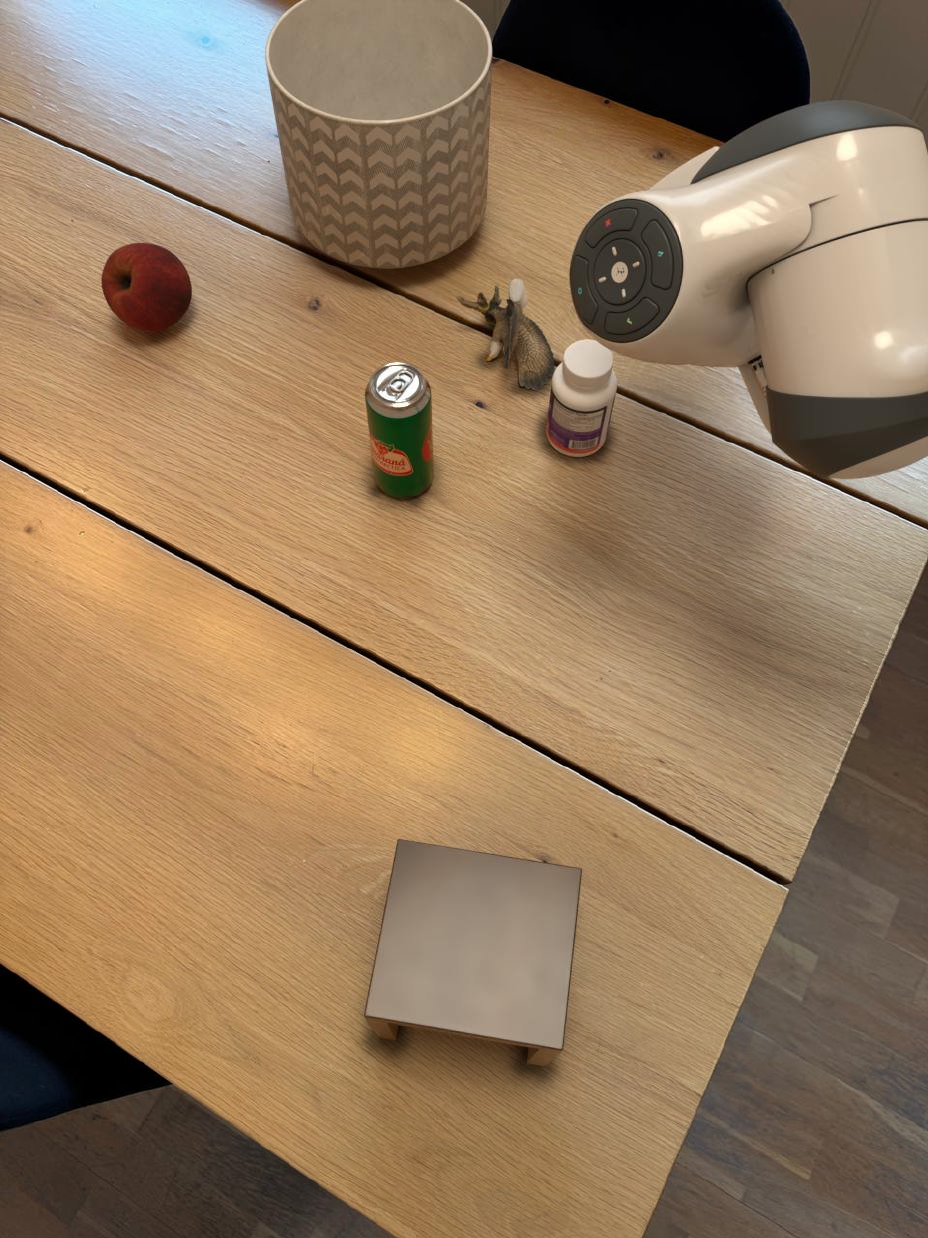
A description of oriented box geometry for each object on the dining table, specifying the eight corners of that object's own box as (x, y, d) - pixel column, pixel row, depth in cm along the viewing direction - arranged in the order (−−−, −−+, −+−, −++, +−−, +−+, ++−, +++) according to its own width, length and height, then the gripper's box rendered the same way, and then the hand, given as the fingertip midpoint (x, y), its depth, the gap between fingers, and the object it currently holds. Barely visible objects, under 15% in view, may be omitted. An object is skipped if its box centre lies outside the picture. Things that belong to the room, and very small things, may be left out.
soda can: (362, 481, 87) (349, 388, 76) (399, 443, 88) (392, 347, 78) (408, 511, 85) (402, 421, 75) (445, 472, 87) (444, 379, 76)
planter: (342, 138, 107) (323, -41, 90) (513, 185, 104) (524, 9, 87) (261, 260, 98) (224, 87, 82) (443, 315, 95) (441, 146, 79)
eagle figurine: (438, 337, 93) (492, 389, 88) (469, 263, 89) (526, 314, 84) (500, 346, 98) (553, 396, 93) (531, 276, 94) (589, 325, 89)
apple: (100, 314, 95) (72, 247, 88) (171, 275, 97) (149, 207, 90) (144, 361, 92) (118, 296, 85) (215, 319, 95) (196, 253, 88)
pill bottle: (566, 399, 91) (578, 321, 82) (617, 428, 90) (635, 351, 81) (533, 439, 89) (541, 363, 80) (585, 469, 87) (599, 395, 79)
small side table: (562, 910, 70) (582, 868, 59) (544, 1066, 66) (563, 1051, 55) (406, 885, 71) (397, 838, 60) (377, 1037, 66) (363, 1016, 56)
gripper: (840, 423, 62) (888, 417, 73) (707, 120, 63) (775, 161, 74) (746, 467, 65) (805, 455, 77) (622, 180, 66) (699, 210, 78)
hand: (790, 308), depth 75 cm, fingers open, 8 cm apart
